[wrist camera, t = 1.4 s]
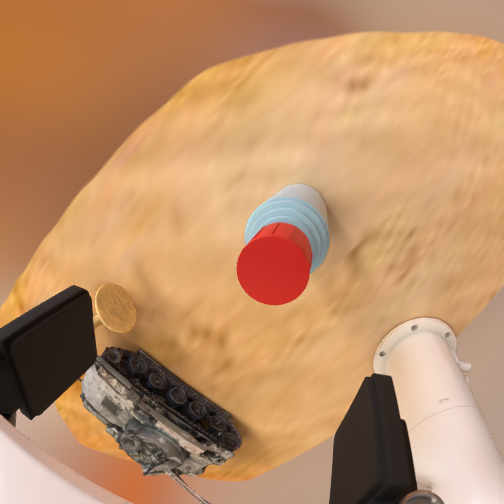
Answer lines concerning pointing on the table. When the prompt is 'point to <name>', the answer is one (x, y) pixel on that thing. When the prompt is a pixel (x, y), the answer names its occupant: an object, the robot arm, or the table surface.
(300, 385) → the table surface
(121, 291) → the wall sconce
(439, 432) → the robot arm
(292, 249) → the cap
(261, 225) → the bottle
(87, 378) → the tank
